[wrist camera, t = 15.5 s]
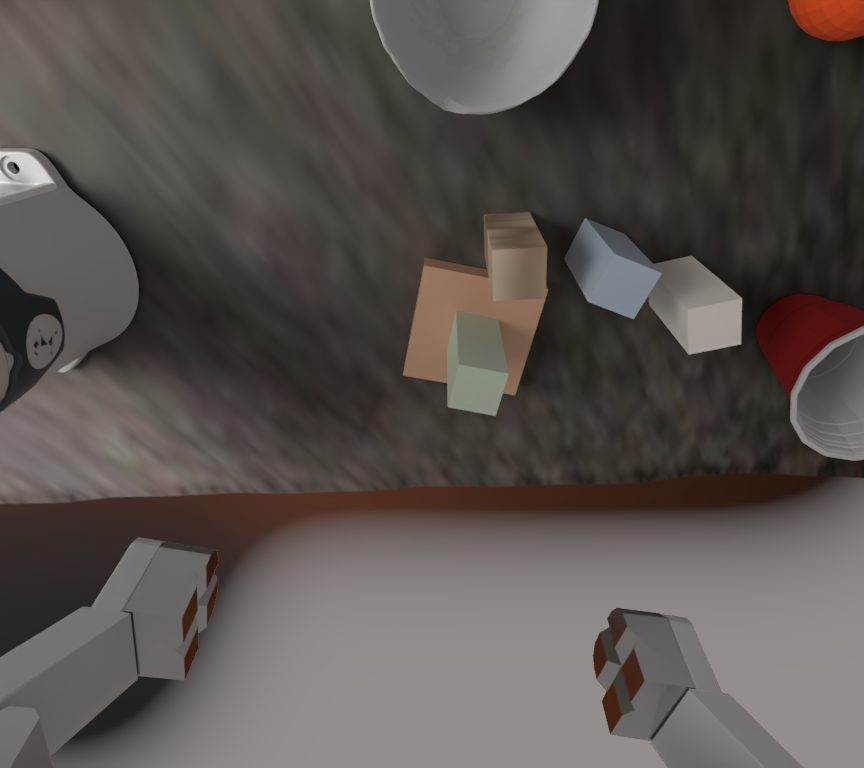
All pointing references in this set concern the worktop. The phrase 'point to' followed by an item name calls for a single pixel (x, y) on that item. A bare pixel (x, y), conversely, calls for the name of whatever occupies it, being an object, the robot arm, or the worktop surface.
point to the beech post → (515, 256)
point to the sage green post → (475, 364)
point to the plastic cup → (819, 370)
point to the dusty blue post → (611, 269)
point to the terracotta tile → (471, 294)
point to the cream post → (696, 306)
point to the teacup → (482, 47)
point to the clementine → (829, 18)
